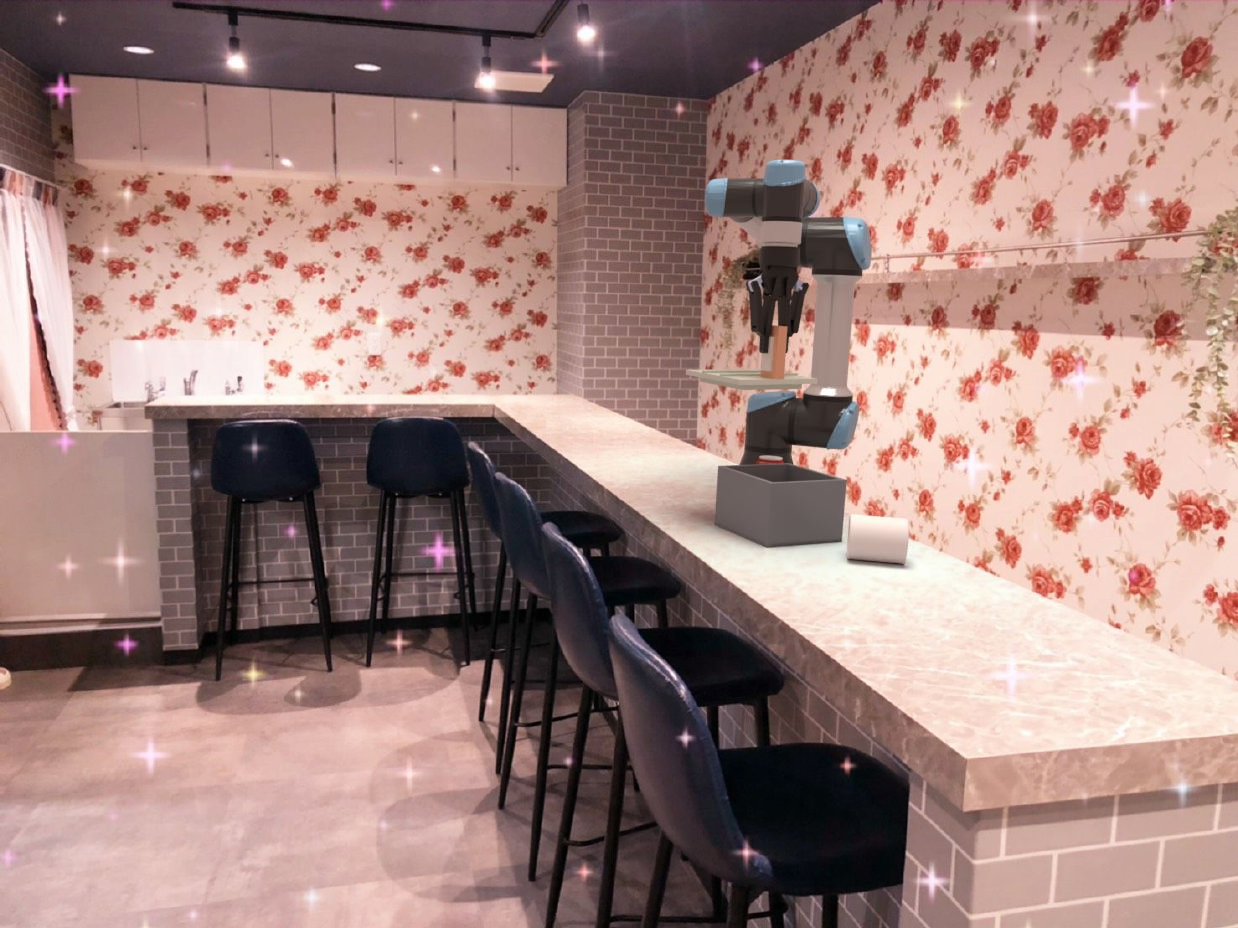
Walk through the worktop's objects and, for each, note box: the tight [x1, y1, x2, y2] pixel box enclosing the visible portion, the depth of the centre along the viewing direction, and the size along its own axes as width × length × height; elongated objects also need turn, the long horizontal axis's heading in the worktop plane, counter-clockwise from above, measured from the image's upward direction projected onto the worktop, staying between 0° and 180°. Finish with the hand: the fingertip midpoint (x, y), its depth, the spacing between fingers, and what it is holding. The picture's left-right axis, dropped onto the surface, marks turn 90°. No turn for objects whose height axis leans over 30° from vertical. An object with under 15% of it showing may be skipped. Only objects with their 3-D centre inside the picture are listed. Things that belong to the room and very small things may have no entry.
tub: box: [714, 463, 848, 548], centre depth 193 cm, size 17×19×12 cm
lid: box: [685, 324, 818, 391], centre depth 197 cm, size 18×20×12 cm
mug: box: [846, 513, 910, 565], centre depth 178 cm, size 12×10×8 cm
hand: (772, 370), depth 191 cm, fingers closed on lid, 2 cm apart
